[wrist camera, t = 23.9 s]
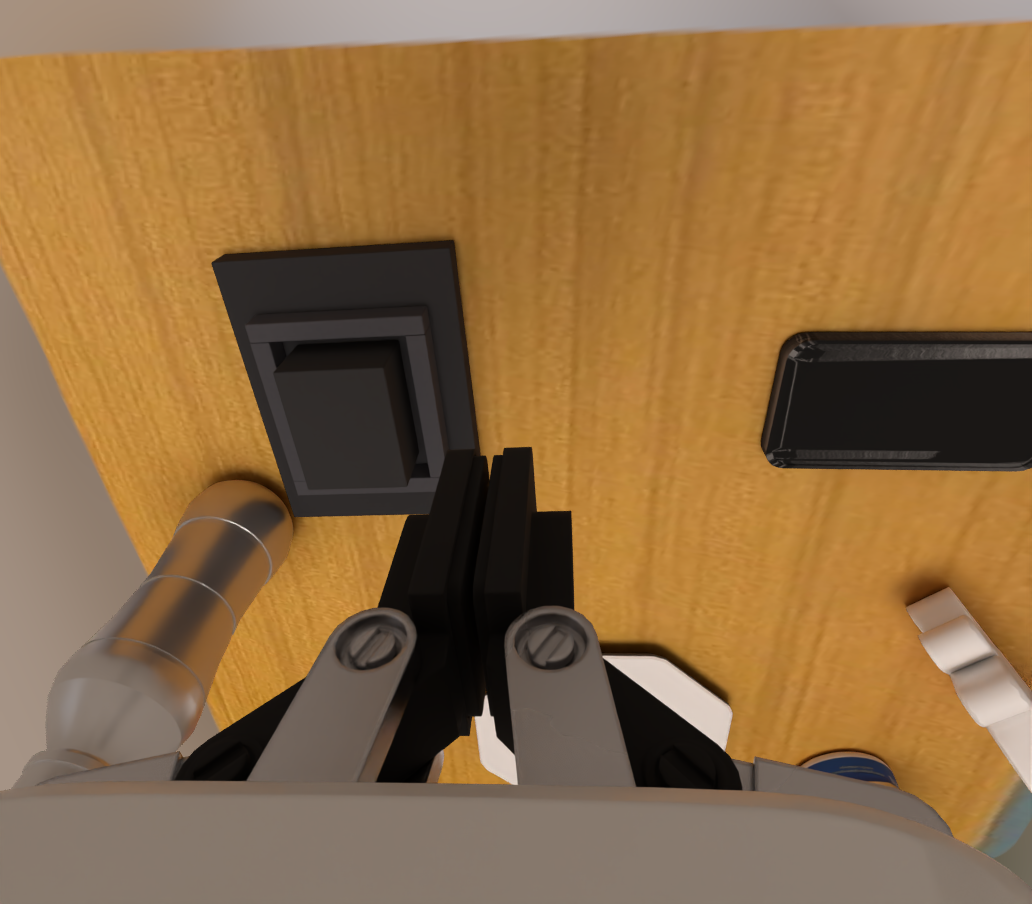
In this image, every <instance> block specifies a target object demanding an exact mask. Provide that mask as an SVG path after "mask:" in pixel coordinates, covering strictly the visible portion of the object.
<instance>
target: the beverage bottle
mask: <svg viewBox="0 0 1032 904" xmlns="http://www.w3.org/2000/svg"><path fill="white" fill-rule="evenodd" d="M800 767H804V768H808V769H813V770H817V771H822V772H826V773H831V774H835V775H840V776H844V777H849V778H853V779H858V780H862V781H867V782H871V783H876V784H880V785H885V786H889V787H894V788H897V789H899V787H898V784H897V782H896V779H895V777H894V775H893V773H892V771H891V769H890V768H889V767H888V766H887V765H886V764H885V763H884V762H883V761H881V760H880V759H878V758H876V757H874V756H871V755H868V754H865V753H859V752H835V753H829V754H825V755H821V756H818V757H816V758H813V759H811V760H809V761H807V762H806V763H804V764H803V765H802V766H800Z"/></svg>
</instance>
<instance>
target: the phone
mask: <svg viewBox="0 0 1032 904" xmlns="http://www.w3.org/2000/svg"><path fill="white" fill-rule="evenodd" d="M761 447H762V449H763V452H764V454H765V456H766V458H767V460H768V461H769V462H770V463H771V464H772V465H773V466H775V467H778V468H804V469H879V470H952V471H1024V470H1027V469H1030V468H1032V332H805V333H800V334H797V335H795V336H793V337H791V338H790V339H789V340H787V341H786V343H785V344H784V345H783V347H782V349H781V352H780V355H779V360H778V365H777V369H776V374H775V379H774V384H773V388H772V393H771V398H770V402H769V407H768V412H767V416H766V421H765V426H764V430H763V435H762V440H761Z"/></svg>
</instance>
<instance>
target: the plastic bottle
mask: <svg viewBox="0 0 1032 904" xmlns="http://www.w3.org/2000/svg"><path fill="white" fill-rule="evenodd" d="M292 538H293V523H292V520H291V517H290V514H289V512H288V509H287V507H286V506H285V504H284V503H283V501H282V500H281V499H280V498H279V497H278V496H277V495H276V494H275V493H273V492H272V491H271V490H269V489H268V488H266V487H264V486H262V485H260V484H257V483H255V482H251V481H247V480H230V481H222V482H218V483H215V484H213V485H211V486H210V487H208V488H207V489H205V490H204V491H203V492H202V493H201V494H199V495H198V496H197V497H196V498H194V499H193V500H192V501H191V502H190V503H189V505H188V507H187V509H186V511H185V513H184V514H183V516H182V518H181V520H180V522H179V524H178V526H177V528H176V530H175V533H174V537H173V538H172V540H171V542H170V543H169V545H168V547H167V548H166V550H165V551H164V553H163V555H162V556H161V558H160V559H159V561H158V563H157V564H156V566H155V567H154V569H153V571H152V572H151V574H150V575H149V576H148V577H147V578H146V580H145V581H144V582H143V583H142V584H141V586H140V587H139V589H138V590H137V591H135V592H134V593H133V595H132V596H131V597H130V598H129V599H128V600H127V602H126V603H125V604H124V605H123V606H122V607H121V609H120V610H119V611H118V612H117V613H116V614H115V615H114V616H113V617H112V618H111V619H110V620H109V621H108V622H107V623H106V624H105V625H104V626H103V627H102V628H101V629H100V630H99V631H98V632H97V633H95V634H94V635H93V636H92V637H91V638H90V639H89V640H88V641H87V642H86V643H85V644H84V645H83V646H82V647H81V648H80V649H79V650H78V651H77V652H75V654H73V655H72V657H71V658H70V659H69V660H68V661H67V662H66V663H65V664H64V665H63V667H62V668H61V669H60V670H59V671H58V673H57V675H56V677H55V680H54V682H53V685H52V687H51V690H50V692H49V695H48V702H47V714H46V741H47V742H46V743H47V749H46V751H41V752H39V753H37V754H35V755H34V756H33V757H32V758H31V759H30V760H29V762H28V763H27V764H26V766H25V767H24V769H23V771H22V775H21V777H20V778H19V779H18V780H17V782H16V783H15V784H14V786H13V787H12V788H11V789H17V788H24V787H31V786H35V785H37V784H38V783H40V782H43V781H45V780H48V779H51V778H54V777H57V776H61V775H66V774H71V773H76V772H80V771H85V770H90V769H95V768H100V767H105V766H109V765H114V764H119V763H124V762H129V761H134V760H138V759H143V758H148V757H153V756H158V755H163V754H167V753H172V752H176V751H177V750H178V748H179V747H180V746H181V745H182V744H183V743H184V742H185V741H186V740H187V739H188V738H189V737H190V735H191V734H192V733H193V731H194V729H195V727H196V725H197V722H198V720H199V718H200V716H201V713H202V710H203V708H204V705H205V702H206V699H207V697H208V694H209V691H210V688H211V685H212V683H213V680H214V677H215V674H216V671H217V669H218V666H219V663H220V661H221V659H222V657H223V655H224V653H225V651H226V649H227V646H228V644H229V642H230V640H231V637H232V635H233V634H234V632H235V630H236V628H237V625H238V623H239V621H240V619H241V618H242V616H243V615H244V613H245V612H246V610H247V609H248V607H249V606H250V604H251V603H252V602H253V600H254V599H255V597H256V596H257V594H258V593H259V591H260V590H261V588H262V587H263V586H264V585H265V584H266V583H267V582H268V581H269V580H270V579H271V578H272V577H273V575H274V574H275V573H276V571H277V570H278V569H279V567H280V566H281V565H282V564H283V562H284V561H285V559H286V558H287V555H288V552H289V549H290V545H291V542H292Z"/></svg>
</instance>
